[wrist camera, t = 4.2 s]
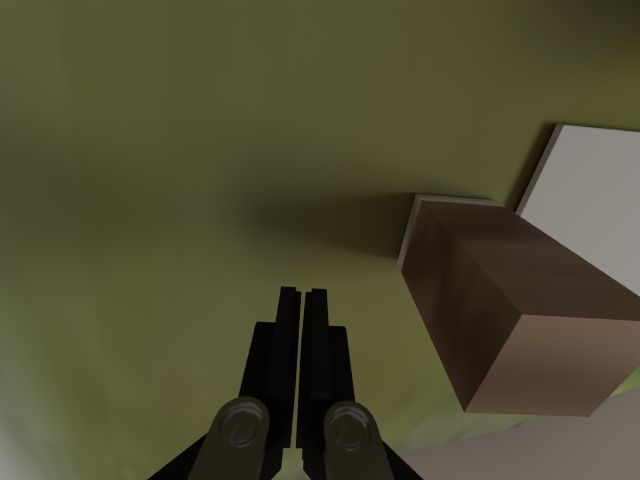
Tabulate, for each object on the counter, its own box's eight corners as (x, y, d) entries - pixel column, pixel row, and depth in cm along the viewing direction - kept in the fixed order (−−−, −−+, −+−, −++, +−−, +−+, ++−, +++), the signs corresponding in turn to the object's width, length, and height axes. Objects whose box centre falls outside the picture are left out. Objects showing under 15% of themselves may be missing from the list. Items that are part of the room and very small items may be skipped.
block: (415, 193, 17) (522, 314, 8) (496, 200, 17) (680, 323, 9) (397, 262, 19) (463, 412, 11) (467, 267, 20) (588, 416, 11)
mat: (557, 123, 15) (564, 124, 15) (761, 144, 16) (773, 146, 15) (466, 317, 22) (469, 321, 22) (611, 325, 23) (617, 330, 22)
